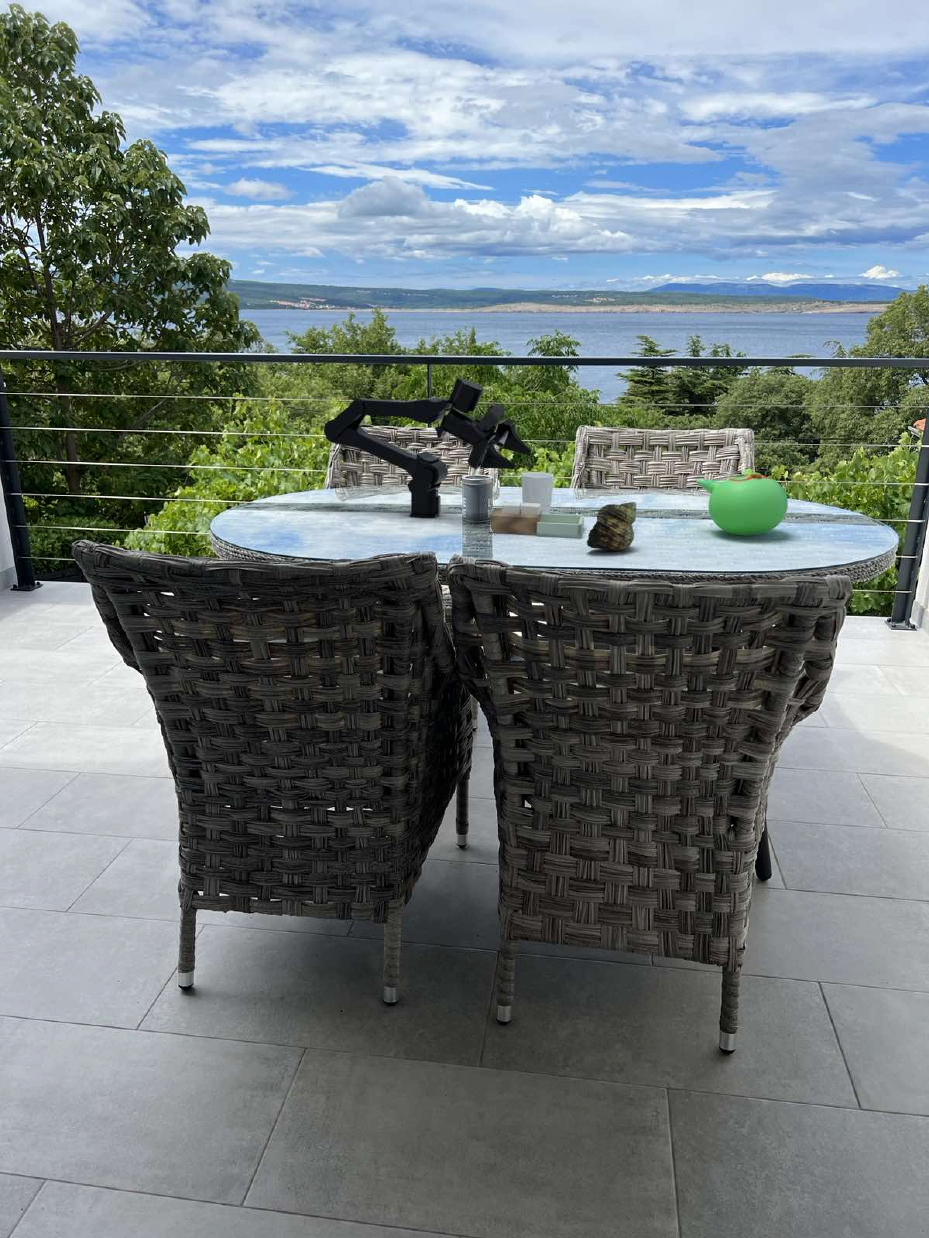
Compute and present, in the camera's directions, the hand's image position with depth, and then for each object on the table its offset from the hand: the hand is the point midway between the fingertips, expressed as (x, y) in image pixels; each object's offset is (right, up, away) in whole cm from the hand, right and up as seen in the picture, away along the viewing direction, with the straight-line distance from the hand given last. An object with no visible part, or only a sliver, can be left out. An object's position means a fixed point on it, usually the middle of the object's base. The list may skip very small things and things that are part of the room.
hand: (522, 459), depth 232 cm
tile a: (-3, -13, -4) cm, 14 cm away
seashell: (+17, -23, -20) cm, 35 cm away
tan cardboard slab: (-2, -17, -3) cm, 17 cm away
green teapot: (+50, -18, -4) cm, 54 cm away
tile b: (+2, -13, -4) cm, 14 cm away
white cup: (+4, -12, +15) cm, 19 cm away
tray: (+8, -17, -4) cm, 20 cm away
